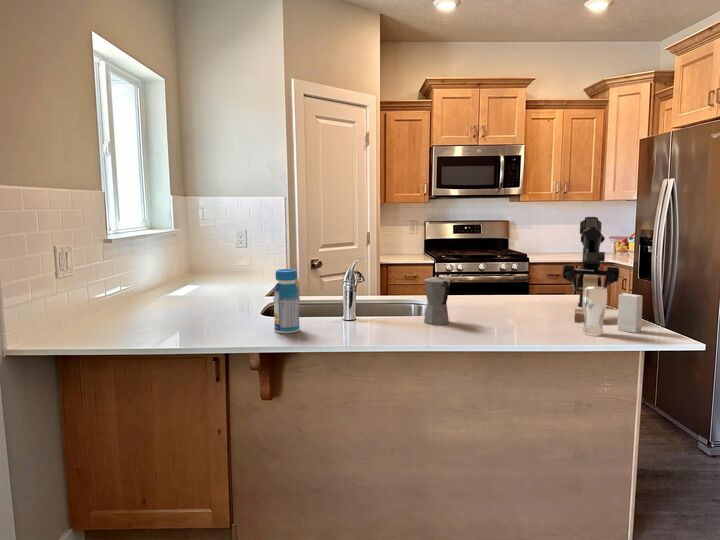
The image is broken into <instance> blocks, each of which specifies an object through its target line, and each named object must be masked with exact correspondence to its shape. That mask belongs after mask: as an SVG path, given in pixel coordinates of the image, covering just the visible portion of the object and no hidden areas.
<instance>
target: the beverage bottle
mask: <svg viewBox="0 0 720 540" xmlns="http://www.w3.org/2000/svg"><path fill="white" fill-rule="evenodd" d="M297 278H298V271H297V270H296V269H294V268H279V269H276V270H275V281H276V282H277V283H275V286H274V288H273V293H274V295H273V299H272V300H273V306H274V307H273V308H274V309H273V310H274V311H273V313H274V315H273V316H274V332H276V333H278V334H293V333H297V332H299V331H300V328H301V327H300V299H301V298H300V295H299V293H300V289H299V286H298V284H297V282H296V281H297Z"/></svg>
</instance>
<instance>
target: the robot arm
mask: <svg viewBox="0 0 720 540" xmlns="http://www.w3.org/2000/svg"><path fill="white" fill-rule="evenodd" d="M579 223H580V224H579V234H580V243H582V246H583V247H582V260H581V261H582V265H581V267H580V268H575V264H564V265H563V267H562V279H564V280H566V281H568V282H570V284H571V286H572V288H573V290H574V293H575V292H579V302H578V303H577V306H578V307H582V297H583V280H584V275H597V276H598V287H602V280H601V278H600V277H605V278H604V284H603V287H605V288H607V289H608V288H609V286H610V285H611V284H615V283H616V282H618V281H619V277H620V268H619V267H618V266H607V267H606V270H600V267H601V266H600V265H601V264H600V263H603V262H605V259H606V251H600V247H601V244H602V243H603V242H604V241H605V240H606V239H605V236H604V235H603V233H602V225H603V224H602V222H601V221H600V220H599V217H597V216H586V217H584V219H583V220H581V221H580V222H579ZM576 275H577V278H576Z"/></svg>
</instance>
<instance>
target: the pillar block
mask: <svg viewBox="0 0 720 540" xmlns="http://www.w3.org/2000/svg"><path fill="white" fill-rule="evenodd" d="M598 277H599V276H597V275H584V280H583V295H584V287H586V286H598ZM581 309H582V313H584V310H583V297H582V306H581Z"/></svg>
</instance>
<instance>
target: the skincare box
mask: <svg viewBox="0 0 720 540" xmlns="http://www.w3.org/2000/svg"><path fill="white" fill-rule="evenodd" d="M643 298H644V297H643V295H640V294H633V293H624V292H623V293H620V294H618V307H617V310H618V313H617V330H618V331H623V332H629V333H633V334H638V333H640V332H641V331H642V319H643Z"/></svg>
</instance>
